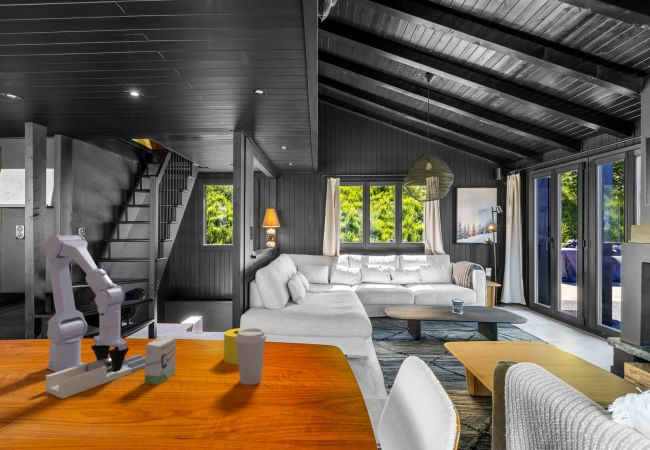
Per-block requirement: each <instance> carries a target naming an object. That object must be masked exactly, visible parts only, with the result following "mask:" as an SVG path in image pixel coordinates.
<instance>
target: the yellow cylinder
mask: <svg viewBox="0 0 650 450" xmlns="http://www.w3.org/2000/svg"><path fill="white" fill-rule="evenodd" d="M243 329H246V328H245V327H244V328H242V327H241V328H240V327H239V328H238V327H237V328H231V329H229V330H225V331H224V332H223V333H224V334H223V338H224V339H223V360H224V362H225V363H227V364H233V365H239V364H238V351H237V341H235V338H236V335H237V334H238V332H239V331H240V330H243Z"/></svg>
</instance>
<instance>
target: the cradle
mask: <svg viewBox="0 0 650 450" xmlns="http://www.w3.org/2000/svg"><path fill="white" fill-rule="evenodd" d="M145 360H146V356H144V357H143V354H141V353H140V354H139V353H138V354H137V355H133V356H130V357H128V358H125V364H124V366H126V367H129V368H132V373H134V372H137V371H139V370H142V369H144V368H145Z"/></svg>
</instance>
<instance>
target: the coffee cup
mask: <svg viewBox="0 0 650 450" xmlns="http://www.w3.org/2000/svg"><path fill="white" fill-rule="evenodd" d="M266 340H267V334H266V333H265V331H264V329H262V328H255V327H251V328H245V329H243V330H240V331H239V332H238V334H237V335H236V338H235V341H237V351H238V364H237V365H238V375H239V376H238V377H239V383H240V384H242V385H246V386H251V385H257V384H259V383H260V382H261V381H262V376H263V375H262V374H263V365H264V352H265V343H266Z"/></svg>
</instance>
